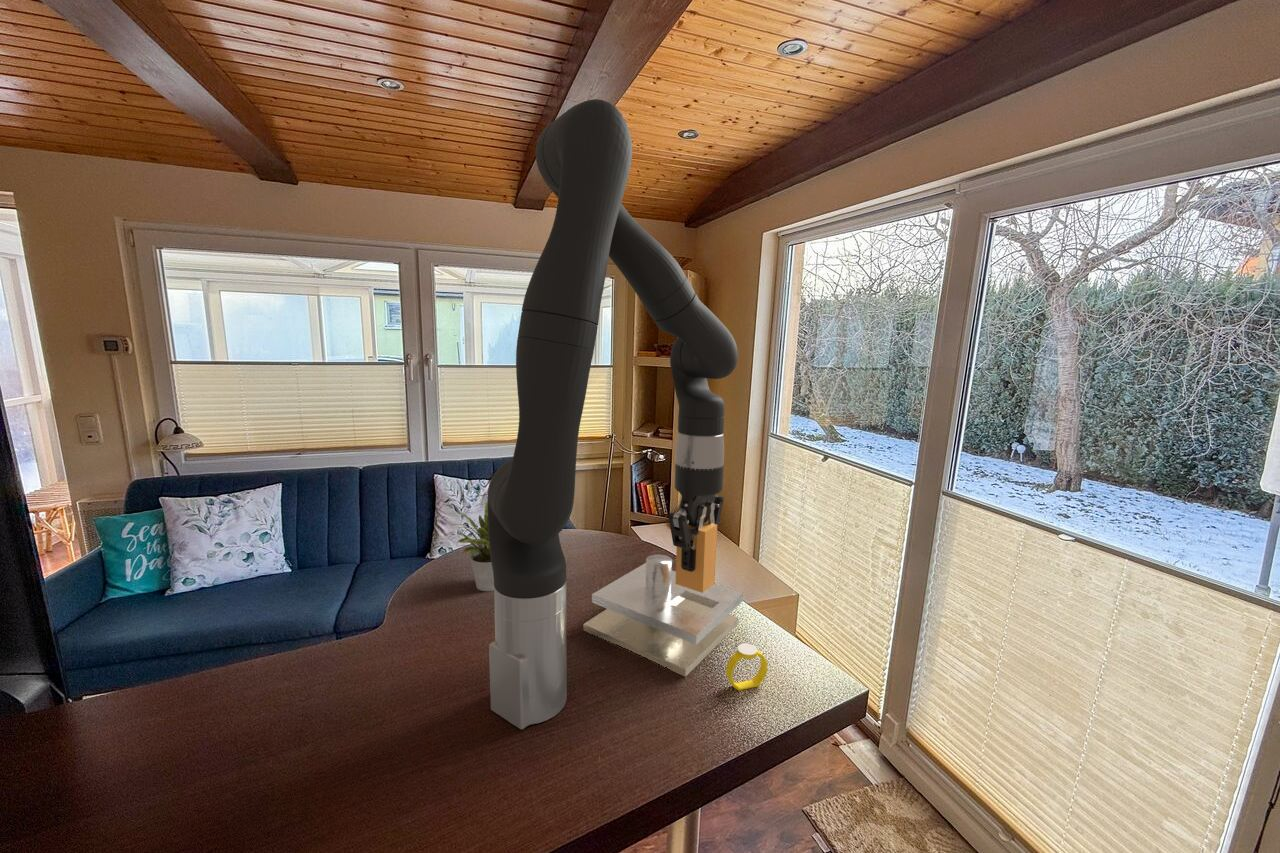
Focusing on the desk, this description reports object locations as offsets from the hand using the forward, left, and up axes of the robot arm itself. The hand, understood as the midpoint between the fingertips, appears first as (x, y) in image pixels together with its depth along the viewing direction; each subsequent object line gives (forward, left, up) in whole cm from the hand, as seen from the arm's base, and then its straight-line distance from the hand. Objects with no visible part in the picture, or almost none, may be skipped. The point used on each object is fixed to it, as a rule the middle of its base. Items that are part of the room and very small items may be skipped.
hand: (695, 564), depth 82 cm
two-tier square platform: (0, +6, -13) cm, 14 cm away
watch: (-5, -12, -13) cm, 19 cm away
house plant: (-8, +43, -13) cm, 46 cm away
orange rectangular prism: (0, 0, -3) cm, 3 cm away
